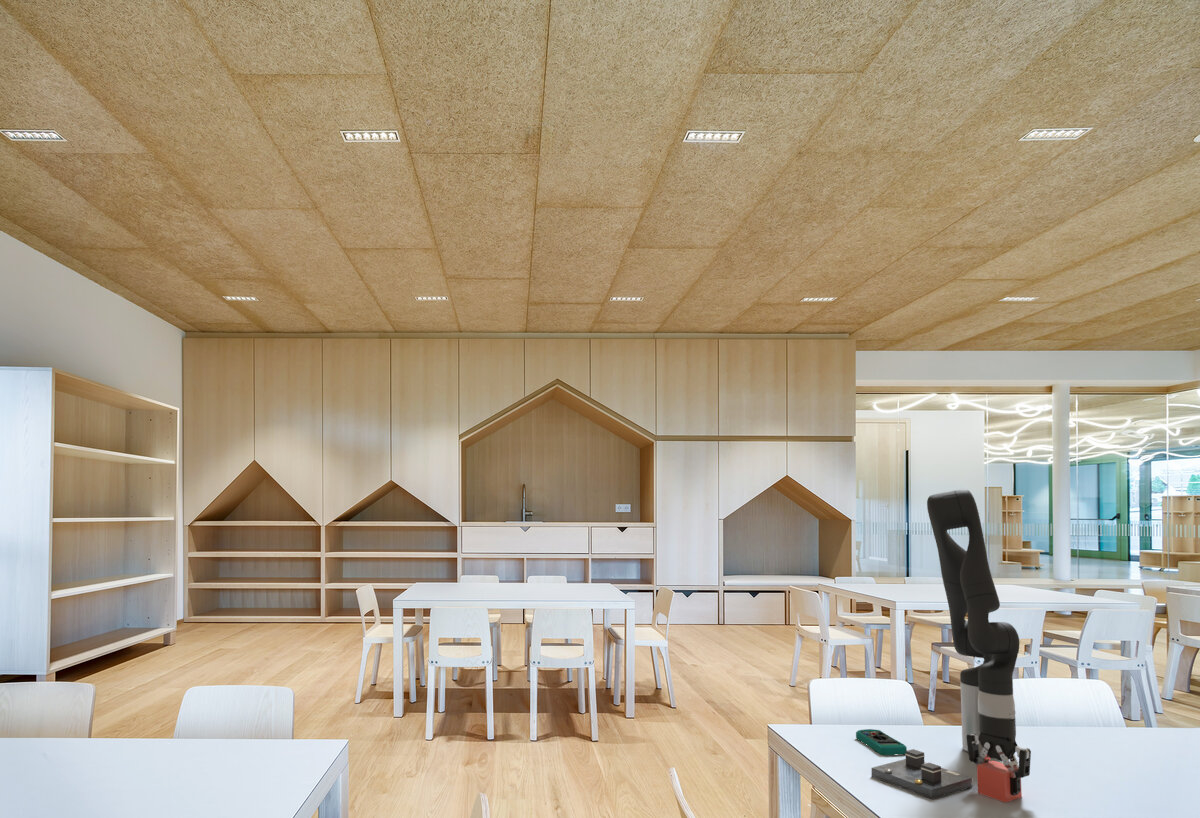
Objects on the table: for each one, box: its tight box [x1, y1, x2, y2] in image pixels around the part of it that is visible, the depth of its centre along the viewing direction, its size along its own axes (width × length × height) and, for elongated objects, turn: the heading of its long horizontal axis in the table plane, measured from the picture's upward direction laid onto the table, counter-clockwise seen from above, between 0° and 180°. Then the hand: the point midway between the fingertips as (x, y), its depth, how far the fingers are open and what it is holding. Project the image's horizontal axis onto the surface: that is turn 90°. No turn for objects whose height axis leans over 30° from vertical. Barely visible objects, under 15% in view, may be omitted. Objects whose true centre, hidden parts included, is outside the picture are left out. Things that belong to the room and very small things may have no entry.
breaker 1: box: [904, 748, 925, 768], centre depth 186 cm, size 3×3×3 cm
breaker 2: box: [921, 762, 942, 783], centre depth 176 cm, size 3×3×3 cm
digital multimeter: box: [855, 728, 908, 756], centre depth 206 cm, size 7×15×3 cm, turn 8°
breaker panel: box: [871, 758, 973, 800], centre depth 180 cm, size 15×16×3 cm
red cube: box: [976, 760, 1023, 803], centre depth 173 cm, size 6×6×6 cm
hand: (999, 789), depth 173 cm, fingers closed on red cube, 6 cm apart
